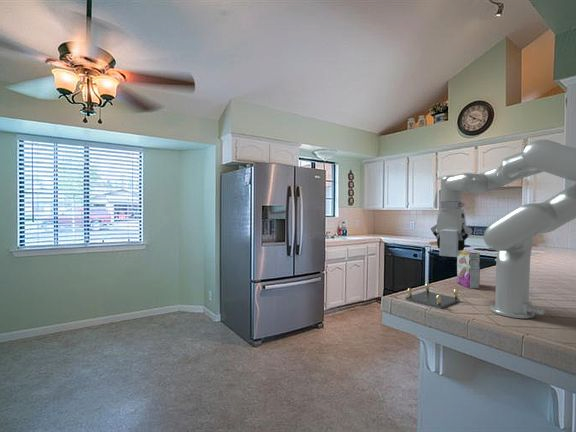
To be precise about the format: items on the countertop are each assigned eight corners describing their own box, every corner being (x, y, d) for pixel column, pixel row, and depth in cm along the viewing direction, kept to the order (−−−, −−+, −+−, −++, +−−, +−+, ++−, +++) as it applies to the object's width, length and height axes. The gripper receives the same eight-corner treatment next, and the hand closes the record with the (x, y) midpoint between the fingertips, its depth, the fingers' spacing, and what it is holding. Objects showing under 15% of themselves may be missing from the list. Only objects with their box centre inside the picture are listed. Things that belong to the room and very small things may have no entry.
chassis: (459, 301, 122) (460, 289, 122) (440, 308, 113) (440, 296, 112) (425, 293, 133) (425, 282, 133) (405, 299, 124) (405, 288, 124)
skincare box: (457, 257, 121) (457, 230, 121) (439, 256, 125) (439, 229, 125) (461, 254, 130) (461, 229, 130) (444, 253, 134) (444, 228, 133)
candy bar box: (456, 282, 152) (456, 249, 151) (466, 282, 152) (467, 249, 151) (468, 288, 141) (469, 252, 140) (480, 288, 140) (480, 252, 140)
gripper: (478, 206, 122) (477, 250, 122) (435, 206, 136) (435, 246, 137) (468, 205, 118) (468, 252, 118) (425, 206, 132) (425, 247, 132)
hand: (450, 248), depth 127 cm, fingers closed on skincare box, 7 cm apart
